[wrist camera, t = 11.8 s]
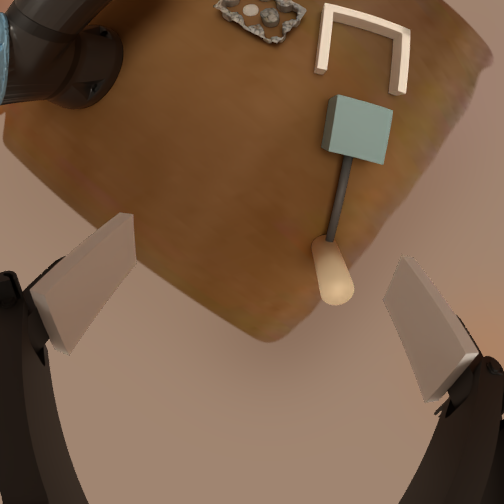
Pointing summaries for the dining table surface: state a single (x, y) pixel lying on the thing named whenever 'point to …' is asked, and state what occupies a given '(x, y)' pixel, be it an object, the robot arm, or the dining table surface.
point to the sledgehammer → (350, 145)
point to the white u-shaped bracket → (373, 25)
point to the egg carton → (263, 16)
